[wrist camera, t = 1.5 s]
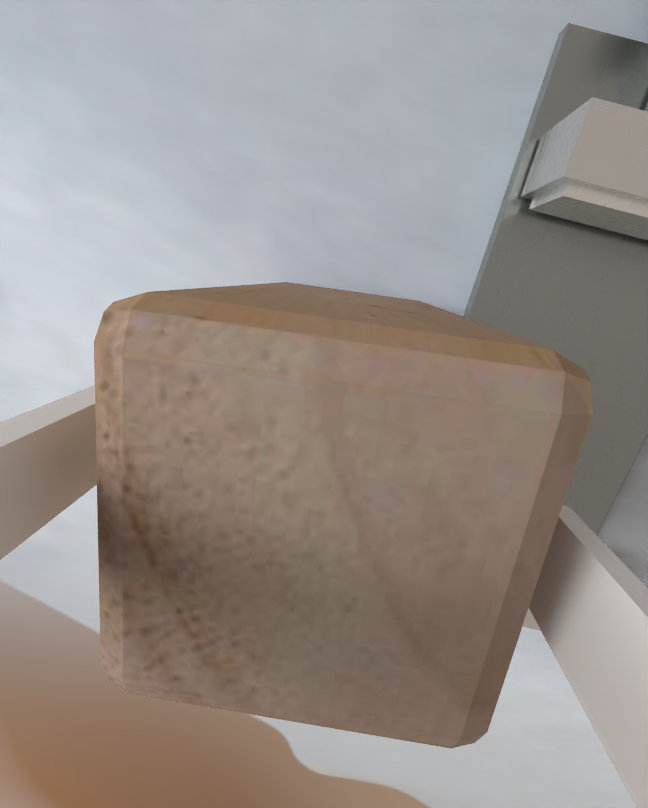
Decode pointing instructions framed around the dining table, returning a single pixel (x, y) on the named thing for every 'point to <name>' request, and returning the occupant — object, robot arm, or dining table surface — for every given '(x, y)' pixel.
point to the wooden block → (324, 503)
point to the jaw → (594, 168)
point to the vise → (578, 275)
